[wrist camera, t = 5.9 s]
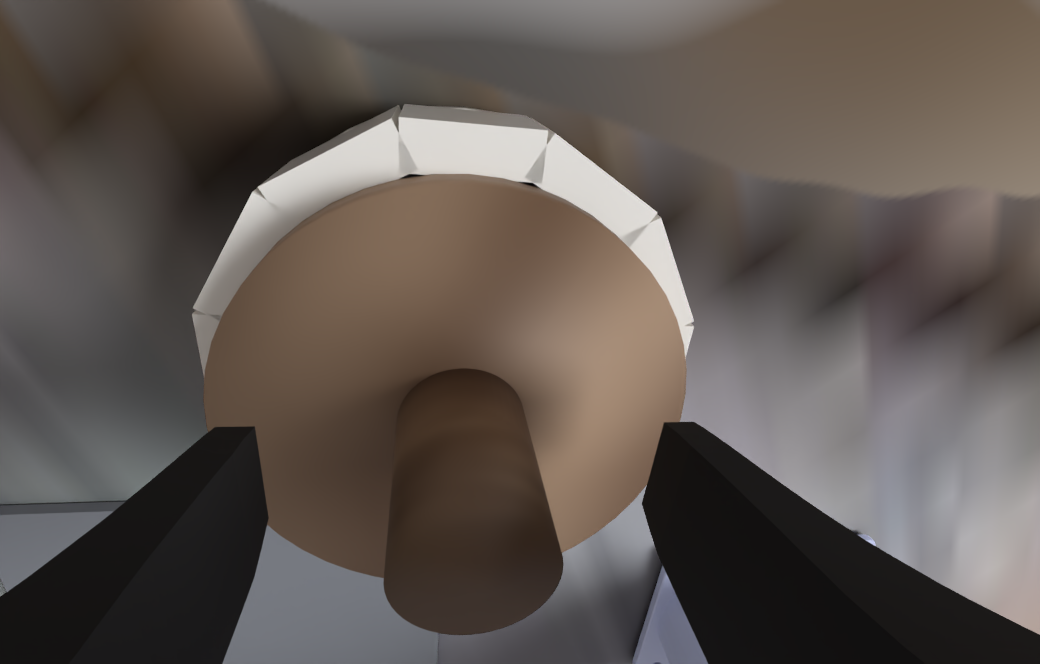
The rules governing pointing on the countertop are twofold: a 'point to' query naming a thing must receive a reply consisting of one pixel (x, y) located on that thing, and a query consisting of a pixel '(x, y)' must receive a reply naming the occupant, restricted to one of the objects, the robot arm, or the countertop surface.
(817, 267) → the countertop surface
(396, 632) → the mat
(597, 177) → the bowl
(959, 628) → the robot arm
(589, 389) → the lid
